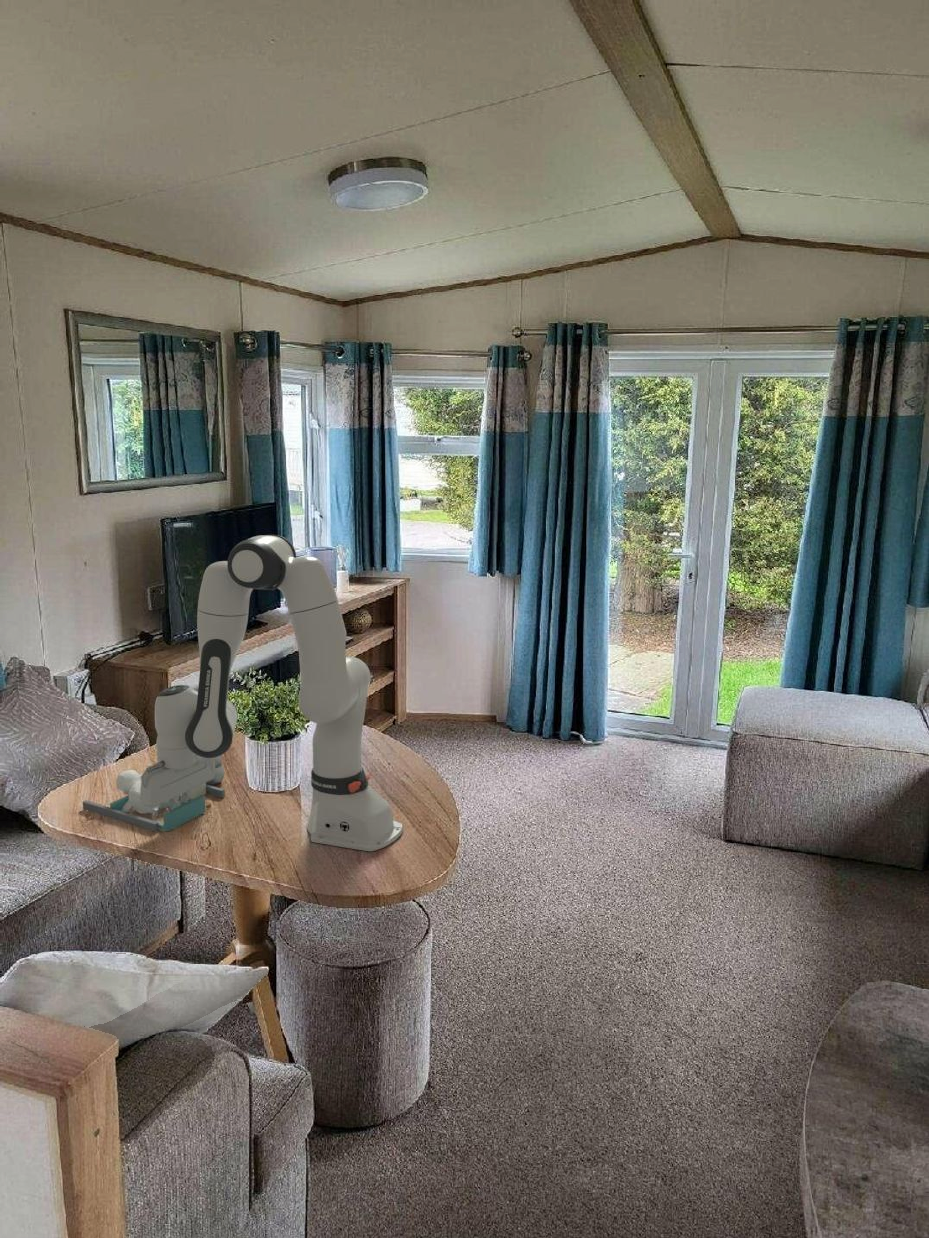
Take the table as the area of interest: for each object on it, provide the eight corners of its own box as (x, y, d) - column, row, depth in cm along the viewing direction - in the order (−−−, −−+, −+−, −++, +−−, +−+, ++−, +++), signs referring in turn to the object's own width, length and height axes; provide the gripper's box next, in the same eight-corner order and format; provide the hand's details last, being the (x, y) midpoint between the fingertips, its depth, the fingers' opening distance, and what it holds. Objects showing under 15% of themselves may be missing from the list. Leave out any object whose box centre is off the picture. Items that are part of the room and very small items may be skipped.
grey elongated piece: (206, 793, 218) (205, 778, 217) (187, 802, 213) (186, 787, 212) (152, 778, 226) (151, 764, 226) (133, 787, 221) (132, 772, 220)
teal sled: (205, 811, 208) (204, 796, 207) (168, 831, 198) (167, 815, 197) (149, 795, 216) (148, 780, 215) (110, 813, 206) (109, 797, 205)
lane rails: (224, 796, 217) (224, 789, 217) (155, 832, 198) (155, 824, 197) (155, 777, 228) (154, 770, 227) (83, 809, 208) (82, 801, 208)
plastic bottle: (220, 788, 222) (217, 713, 218) (194, 787, 222) (190, 713, 218) (227, 778, 228) (224, 705, 224) (202, 777, 228) (198, 705, 224)
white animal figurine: (173, 818, 212) (131, 785, 217) (181, 791, 208) (138, 758, 214) (145, 832, 204) (102, 797, 209) (153, 804, 201) (109, 769, 206)
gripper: (152, 772, 190) (155, 830, 193) (218, 743, 207) (220, 797, 210) (131, 767, 193) (135, 824, 196) (198, 738, 210) (201, 792, 213)
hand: (180, 810), depth 203 cm, fingers closed, pressing on teal sled
